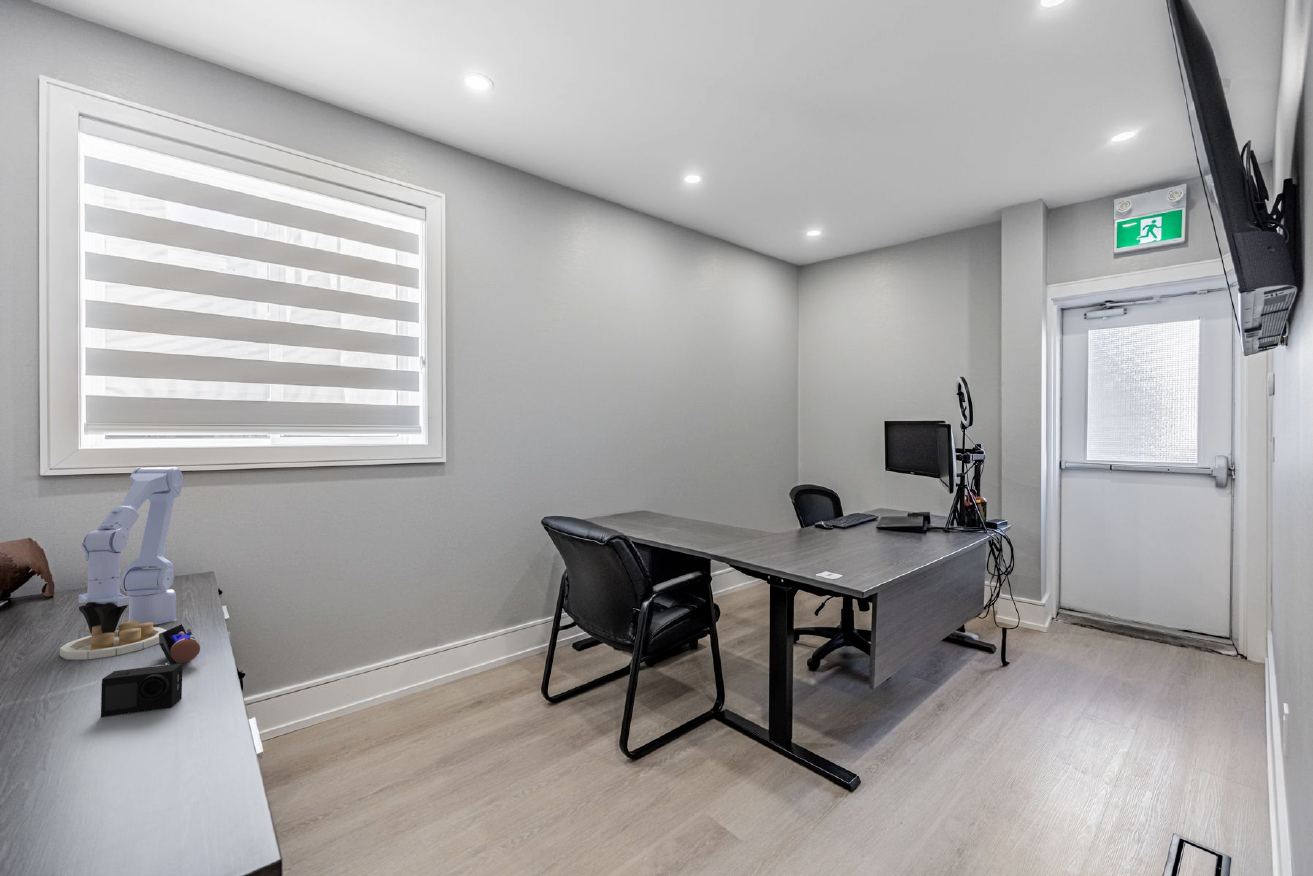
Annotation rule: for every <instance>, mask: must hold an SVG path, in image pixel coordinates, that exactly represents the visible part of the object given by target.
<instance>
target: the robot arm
mask: <svg viewBox="0 0 1313 876" xmlns="http://www.w3.org/2000/svg"><path fill="white" fill-rule="evenodd" d="M129 483H130V484H129V485H130V488H129V490H128V492H127V494H126V495H125V496H124V498H123V501H122V503H121V504H120V505H119V506H114V507H113V508H111V509H110V511H109V512H108V513H107V515H106V516H105V518H104V519H103V520H102V522H101V523H100V525H98V527H97V529H95V530H92V531H90V532H88V533H87V534H85V536H84V538H83V540H82V543H81V548H82V551H83V552H84V556H85V557H84V558H85V561H87V562H88V564H87V565H88V567H87V571H88V572H87V593H81V594H78V597H77V598H78V601H77V603H79V604H80V603H81V604H83V603H85V605H81V606H78V610H79V611H80V613H81V614H82V615H83V616H84V618H85V621H86V623H87V627H88V629H89V633H90V634H91V635H92V627H94V626H97V625H101V631H102V633H114V632H115V631H116V630H117V628H118V625H119V623H120V619H121V617H122V616H123V613H124V612H125V610H126V609H127V608H128V622H129V621H139V624H140V623H147V622H152V623H153V626H154V625H159V624H161V625H162V624H166V623H170V622H176V621H177V620H178V619H177V595H176V591H175V590H174V589H171V587H172V585H173V584H174V581H175V574H174V569H175V568H174V566H175V565H174V564H173V563H172V561H170V560H168V559H167V558H165V557H164V555H165V554H164V553H165V550H166V545H167V539H168V535H169V530H170V524H171V520H172V514H173V513H172V512H173V508H174V504H175V503H174V502H175V499H177V498H179V497H180V496H181V492H182V488H183V483H184V476H183V473H182V470H180V468H179V467H177V466H173V467H141V466H139V467H136V468H134V469H133V471H132V472H131V473H130V476H129ZM147 500H148V501H149V503H150V504H149V508H148V513H147V518H146V523H145V527H144V532H143V536H142V542H141V546H140V552H139V556H138V557H136V559H134V560H132V561H131V562H129V563H127V565H126V568H125V571H124V573H123V574H122V575H121V570H122V569H121V567H122V552H123V551H124V550H125V549H126V548H127V546H128V543H129V538H130V536H131V534H130V531H131V530H132V527H134V525H135V524H136V522H137V520H138V519H139V517H140V515H139V512H138V510H139V509H140V508H141V507H142V506H143V504H145V502H146V501H147ZM121 590H122V591H123V592H124V593H125V594H126V595H124V594H122V593H121ZM128 606H129V607H128Z"/></svg>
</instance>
